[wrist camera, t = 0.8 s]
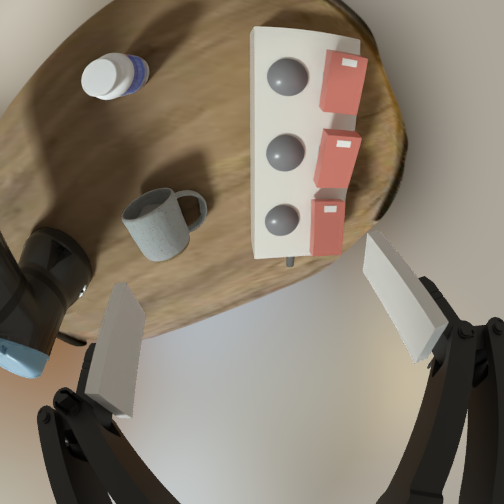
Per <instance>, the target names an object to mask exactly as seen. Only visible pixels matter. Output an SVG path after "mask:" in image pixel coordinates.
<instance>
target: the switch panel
mask: <svg viewBox="0 0 504 504" xmlns="http://www.w3.org/2000/svg"><path fill="white" fill-rule="evenodd" d="M327 49H329V50H335V51H341V52H347V53H352V54H356V55H360V40H359V39H355V38H350V37H345V36H340V35H335V34H329V33H323V32H317V31H309V30H301V29H292V28H279V27H258V26H254V28H253V29H252V31H251V33H250V136H251V241H252V247H253V253H254V258H255V259H262V258H278V257H287V261H286V266H288V267H293V266H294V257H295V256H307V255H311V253H310V252H309V249H310V226H311V199H341V200H343V201H345V199H346V193H347V188H317V187H316V185H315V183H314V180H313V178H314V173H315V168H316V163H317V158H318V153H319V148H320V142H321V137H322V131H323V128H324V129H337V130H348V131H355V125H356V115H349V114H340V113H330V112H323V111H322V110H321V109H320V107H319V102H320V95H321V88H322V81H323V74H324V66H325V58H326V50H327Z"/></svg>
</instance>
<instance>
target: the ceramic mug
mask: <svg viewBox="0 0 504 504" xmlns="http://www.w3.org/2000/svg"><path fill="white" fill-rule="evenodd" d="M189 195H190V196H195V197H197V198H198V201H199V204H200V212H201V215H200V216H199V218H198V219H197V220H196V221H195V222H194V223H192V224H191V225H189V226H187V225H186V222H185V220H184V217H183V215H182V212H181V209H180V207H179V204H178V201H177V199H178V198H179V197H182V196H189ZM206 216H207V205H206V201H205V199H204V198H203V197H202V196H201V195H200V194H199V193H197V192H195V191H192V190H183V191H178V192H176V193H174V191H173V190H172V189H171V188H159V189H155V190H152V191H149V192H147V193H145V194H143V195H141V196H139V197H138V198H136V199H135V200H133V201H132V202H131V203H130V204H129V205H128V206H127V207H126V208H125V210H124V211H123V213H122V216H121V218H122V221H123V223H124V224H125V226H126V228H127V229H128V231H129V232H130V234H131V236H132V237H133V239H134V240H135V242H136V243H137V245H138V246H139V248H140V250H141V251H142V253H143V254H144V255H145V256H146V257H147V258H148V259H149V260H150V261H152V262H155V263H164V262H168V261H171V260H173V259H175V258H176V257H178V256H179V255H180V254H182V253H183V252H184V250H185V249H186V248H187V246H188V244H189V241H190V236H189V233H190V232H192V231H194V230H196V229H197V228H199V227H200V226H201V225H202V224H203V222H204V221H205V219H206Z"/></svg>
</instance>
